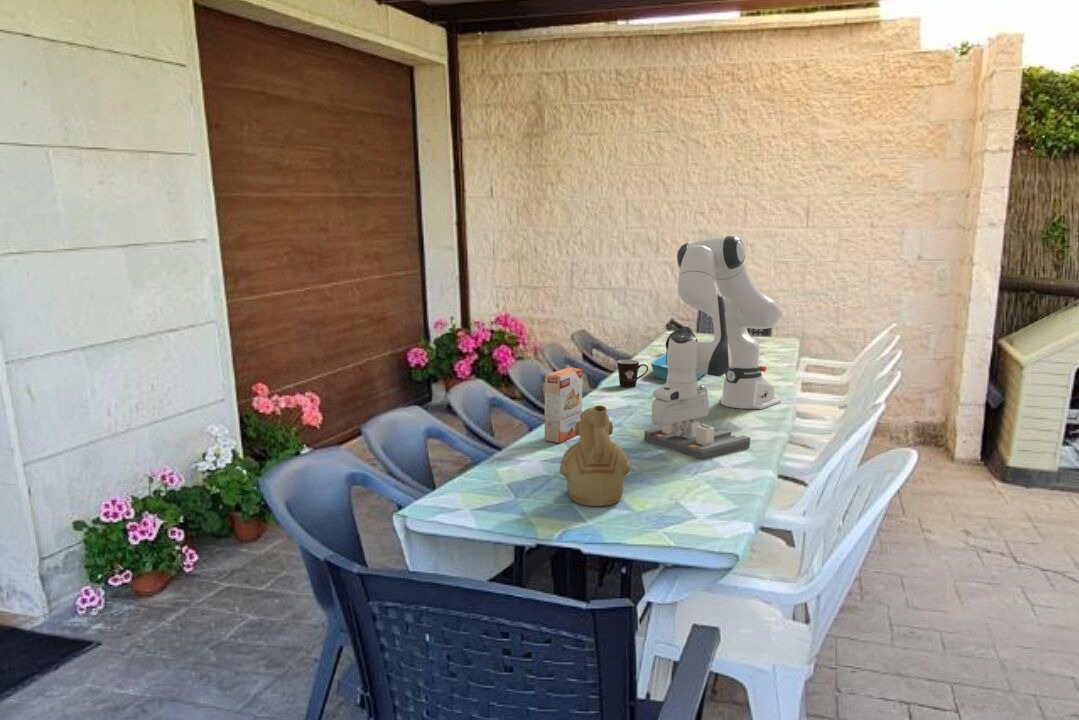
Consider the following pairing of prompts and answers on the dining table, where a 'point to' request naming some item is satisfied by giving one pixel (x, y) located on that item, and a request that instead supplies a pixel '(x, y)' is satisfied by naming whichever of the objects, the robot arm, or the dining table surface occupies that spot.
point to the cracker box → (562, 404)
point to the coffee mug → (629, 372)
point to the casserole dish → (662, 367)
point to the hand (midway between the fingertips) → (680, 435)
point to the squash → (681, 330)
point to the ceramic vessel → (594, 461)
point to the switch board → (689, 446)
